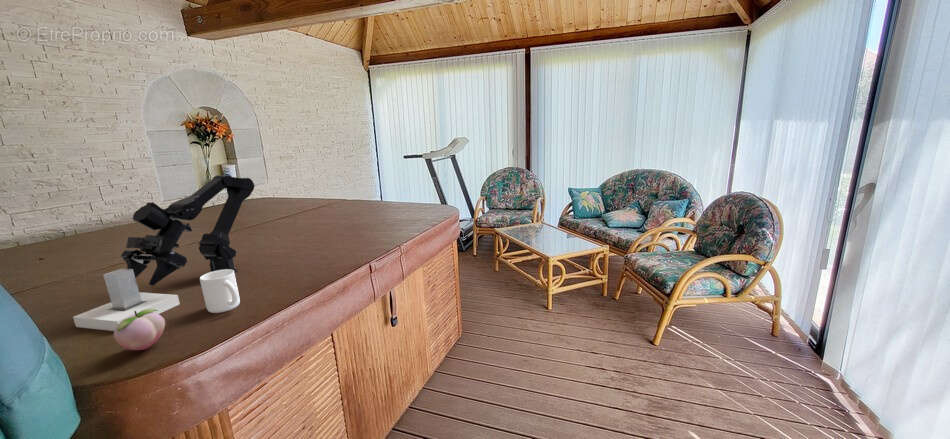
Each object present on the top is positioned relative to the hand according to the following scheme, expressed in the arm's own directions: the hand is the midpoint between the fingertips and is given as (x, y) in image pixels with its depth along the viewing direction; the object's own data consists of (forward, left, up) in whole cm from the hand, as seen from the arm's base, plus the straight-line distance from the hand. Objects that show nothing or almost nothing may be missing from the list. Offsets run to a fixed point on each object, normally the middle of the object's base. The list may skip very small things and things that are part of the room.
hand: (138, 284), depth 108 cm
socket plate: (+1, +4, -8) cm, 9 cm away
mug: (-26, +4, -8) cm, 27 cm away
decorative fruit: (-18, +24, -8) cm, 31 cm away
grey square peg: (+1, +4, -7) cm, 8 cm away
